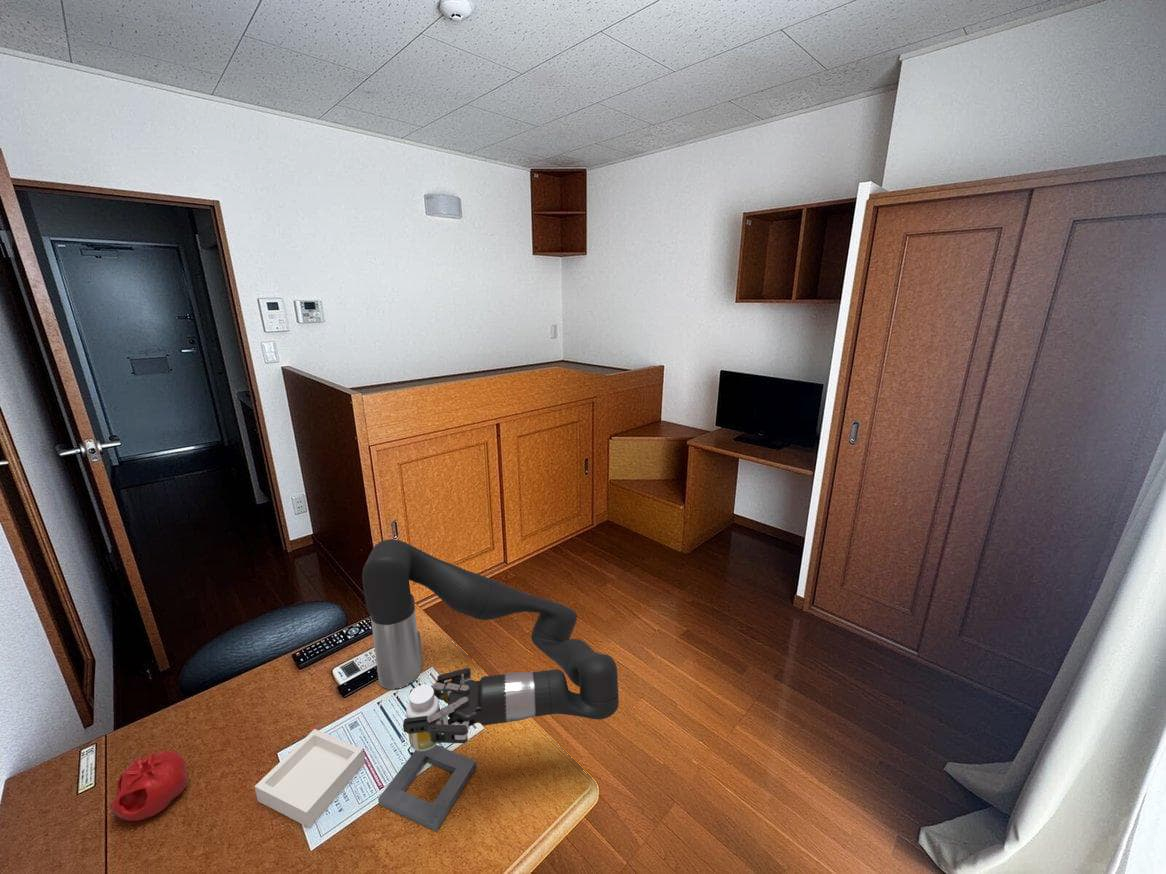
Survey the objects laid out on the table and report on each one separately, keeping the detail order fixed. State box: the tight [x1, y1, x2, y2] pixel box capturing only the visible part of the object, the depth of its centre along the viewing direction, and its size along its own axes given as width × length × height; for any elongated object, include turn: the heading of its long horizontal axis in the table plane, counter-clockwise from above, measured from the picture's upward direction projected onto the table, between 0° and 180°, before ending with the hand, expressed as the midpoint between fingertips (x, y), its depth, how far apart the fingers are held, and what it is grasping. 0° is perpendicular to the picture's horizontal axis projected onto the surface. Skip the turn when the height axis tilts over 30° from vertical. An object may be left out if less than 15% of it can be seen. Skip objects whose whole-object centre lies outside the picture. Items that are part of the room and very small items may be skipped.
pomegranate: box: [109, 747, 188, 822], centre depth 80 cm, size 10×10×9 cm
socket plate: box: [377, 744, 477, 832], centre depth 84 cm, size 12×12×2 cm
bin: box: [254, 728, 366, 829], centre depth 84 cm, size 12×12×4 cm
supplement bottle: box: [405, 684, 443, 751], centre depth 80 cm, size 5×5×10 cm
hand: (407, 710), depth 79 cm, fingers closed on supplement bottle, 5 cm apart
